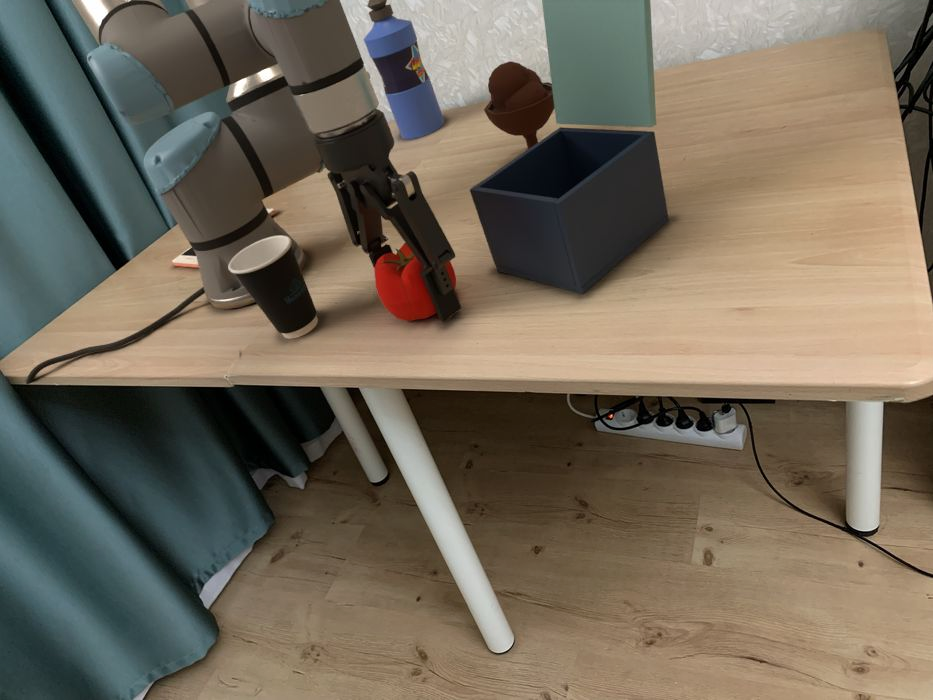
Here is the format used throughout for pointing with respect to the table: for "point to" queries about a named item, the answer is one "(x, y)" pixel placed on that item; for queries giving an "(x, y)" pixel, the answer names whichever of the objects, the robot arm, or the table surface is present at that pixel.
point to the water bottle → (402, 72)
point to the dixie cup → (276, 284)
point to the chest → (573, 205)
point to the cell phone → (190, 256)
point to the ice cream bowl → (519, 101)
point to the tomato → (405, 285)
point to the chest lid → (601, 61)
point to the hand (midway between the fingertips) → (423, 304)
